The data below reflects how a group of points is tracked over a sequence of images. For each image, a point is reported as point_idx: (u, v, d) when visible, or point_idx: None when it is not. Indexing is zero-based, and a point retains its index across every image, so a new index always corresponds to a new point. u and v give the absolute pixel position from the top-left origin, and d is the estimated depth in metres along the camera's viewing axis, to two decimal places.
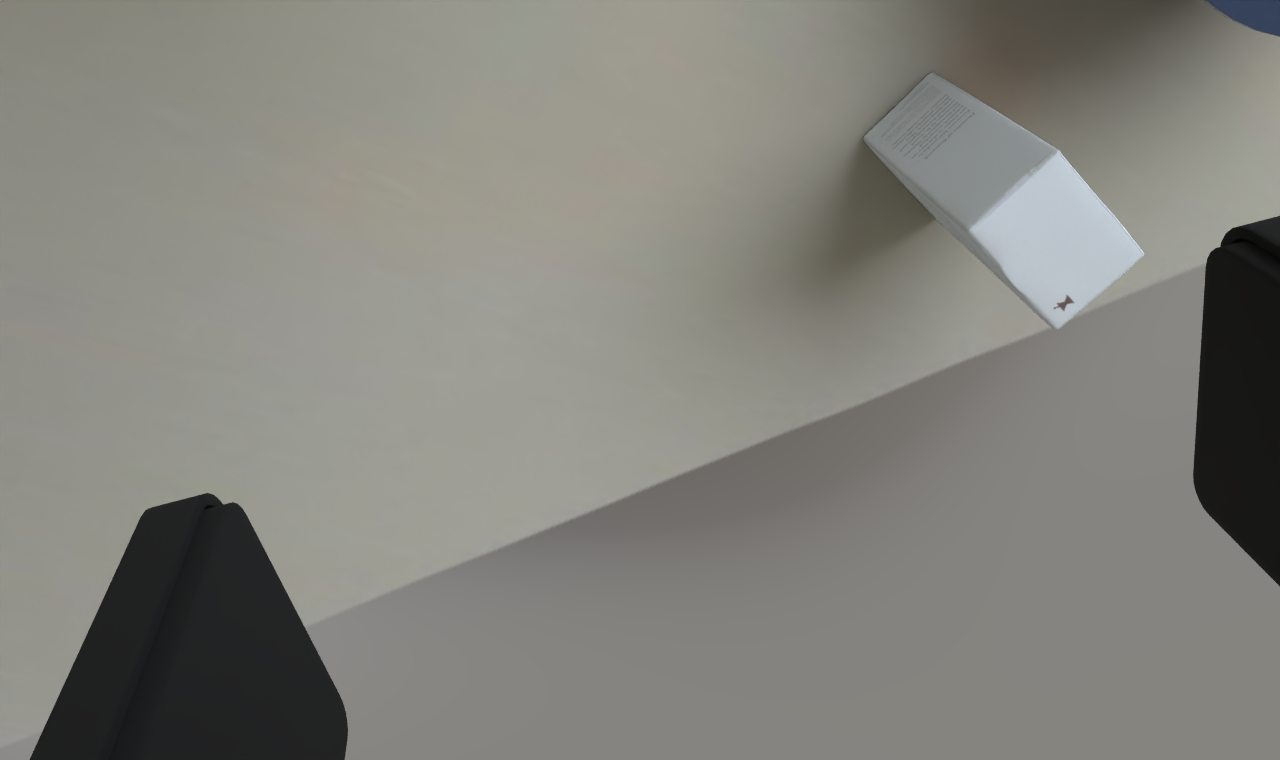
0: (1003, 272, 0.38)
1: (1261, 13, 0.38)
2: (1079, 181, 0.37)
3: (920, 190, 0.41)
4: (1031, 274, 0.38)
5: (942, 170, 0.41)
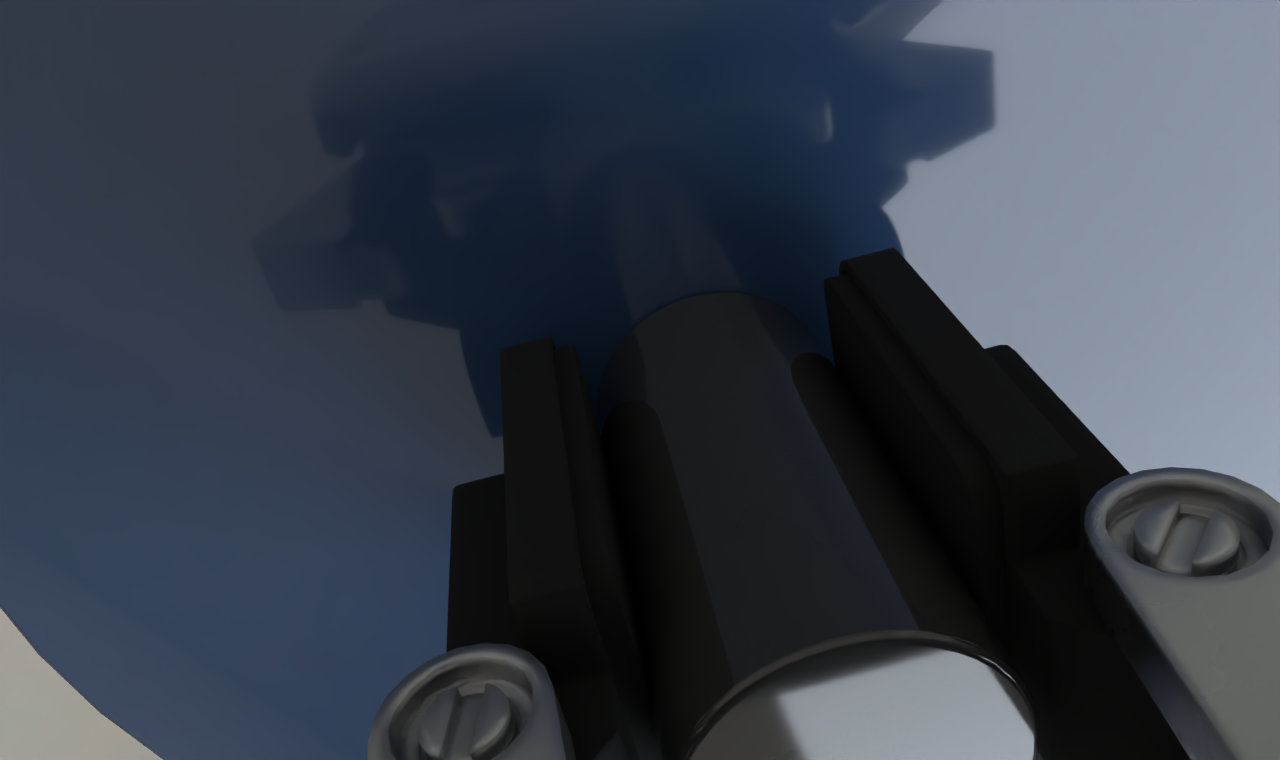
0: None
1: None
2: None
3: None
4: None
5: None
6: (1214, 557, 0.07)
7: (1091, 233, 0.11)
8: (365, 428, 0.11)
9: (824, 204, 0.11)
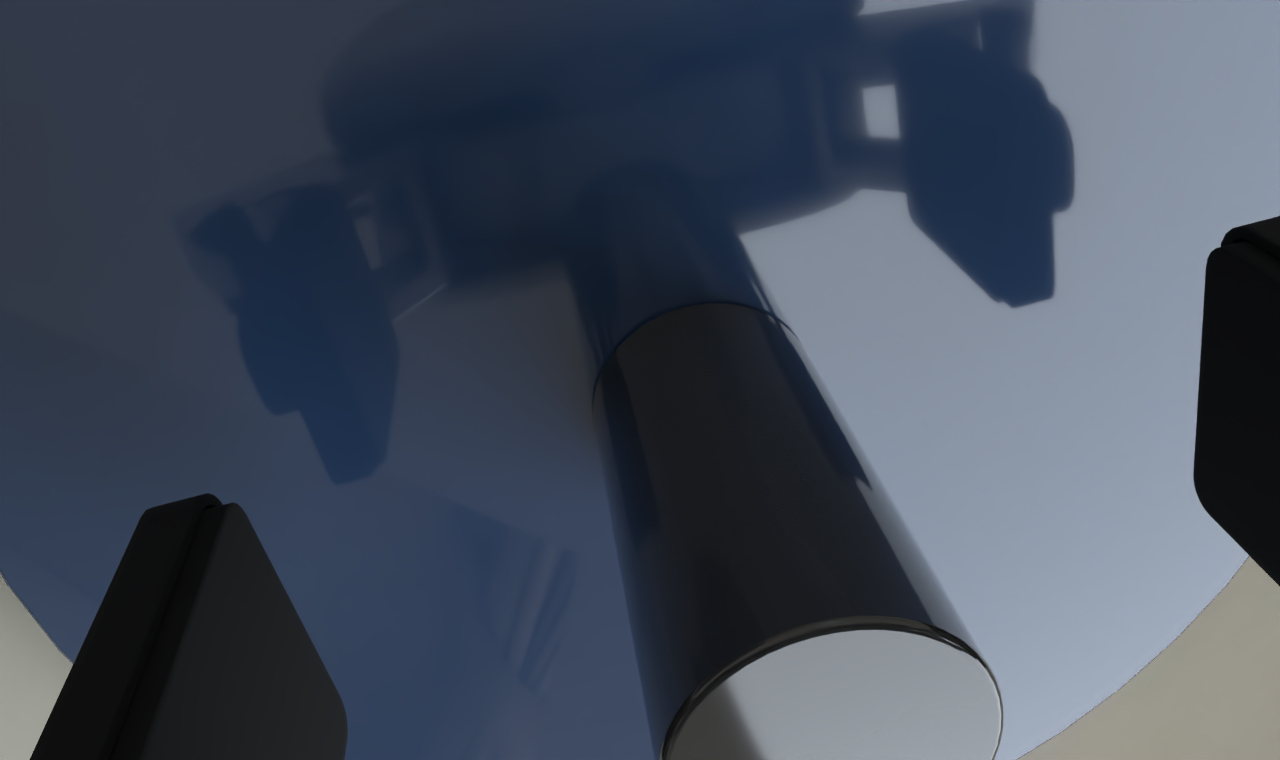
0: None
1: None
2: None
3: None
4: None
5: None
6: None
7: (1063, 246, 0.12)
8: (372, 433, 0.12)
9: (808, 219, 0.11)
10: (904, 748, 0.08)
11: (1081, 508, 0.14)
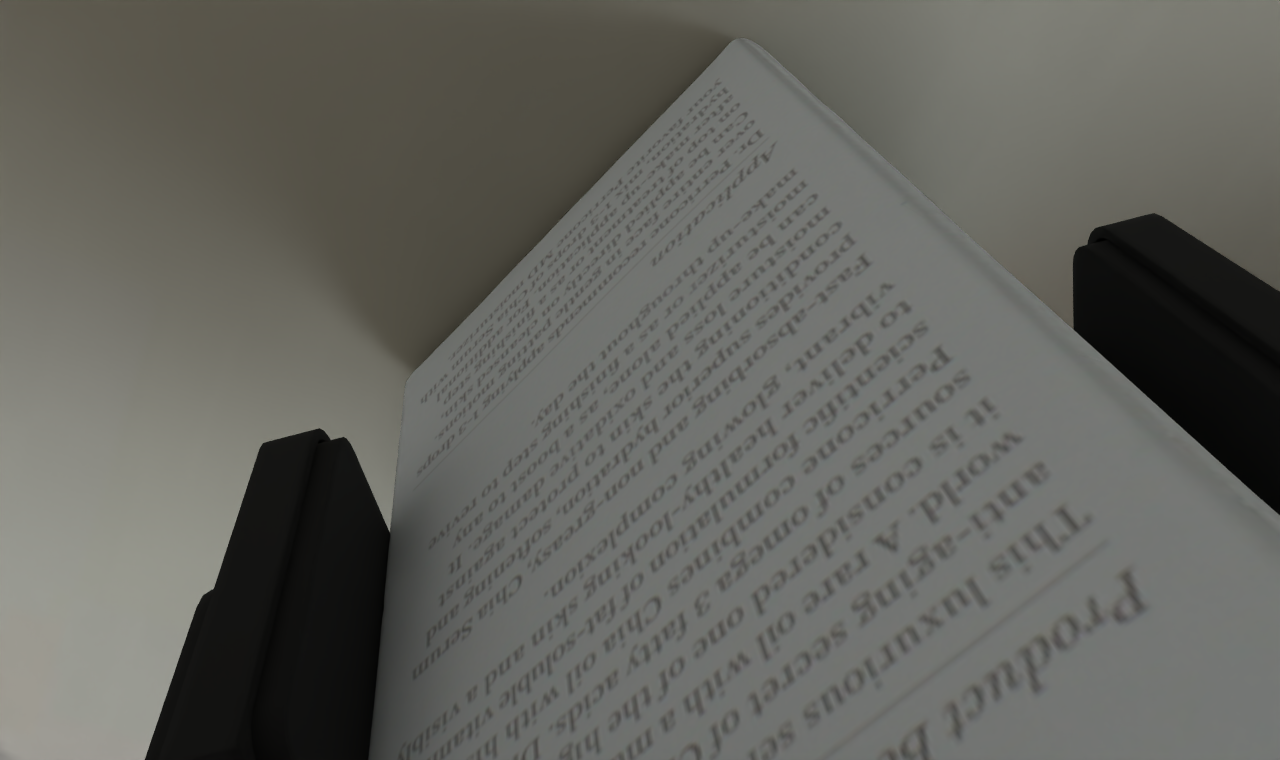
0: None
1: None
2: None
3: (1038, 318, 0.06)
4: None
5: None
6: None
7: None
8: None
9: None
10: None
11: None
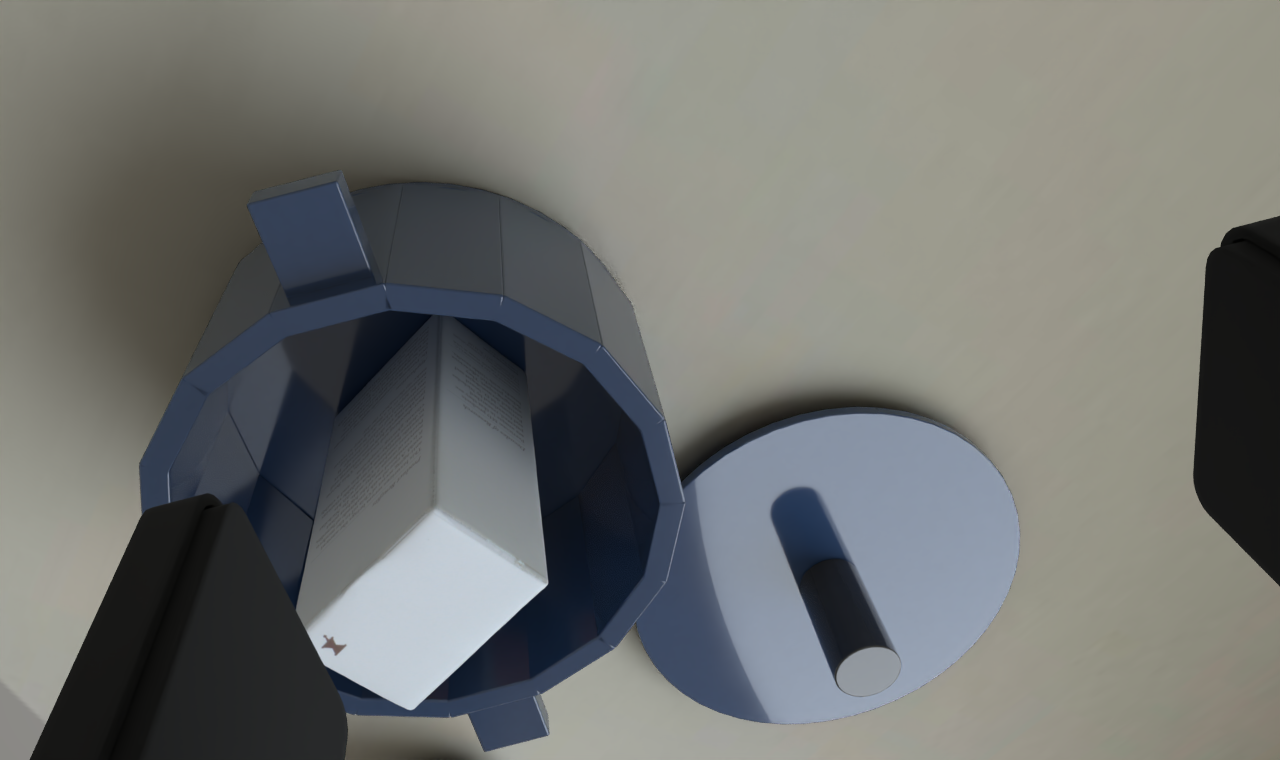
0: (374, 564, 0.27)
1: None
2: (508, 616, 0.29)
3: (434, 414, 0.31)
4: (373, 597, 0.28)
5: (465, 436, 0.31)
6: None
7: (927, 542, 0.44)
8: (741, 592, 0.44)
9: (859, 539, 0.44)
10: (881, 670, 0.40)
11: (937, 607, 0.46)
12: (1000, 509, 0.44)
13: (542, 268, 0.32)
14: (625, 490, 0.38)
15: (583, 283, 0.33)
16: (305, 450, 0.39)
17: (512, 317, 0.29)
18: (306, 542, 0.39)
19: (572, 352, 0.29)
